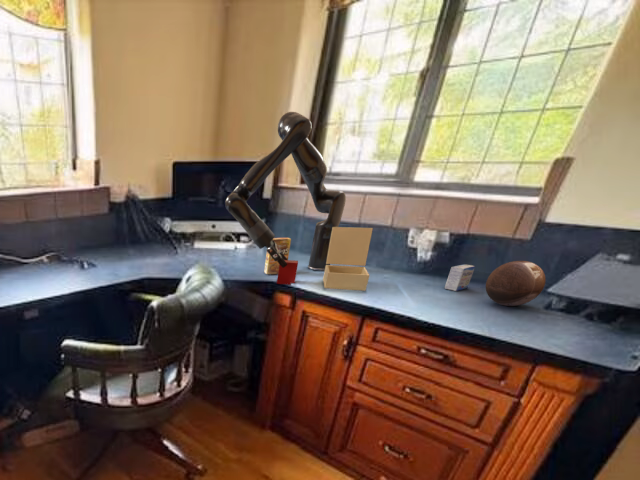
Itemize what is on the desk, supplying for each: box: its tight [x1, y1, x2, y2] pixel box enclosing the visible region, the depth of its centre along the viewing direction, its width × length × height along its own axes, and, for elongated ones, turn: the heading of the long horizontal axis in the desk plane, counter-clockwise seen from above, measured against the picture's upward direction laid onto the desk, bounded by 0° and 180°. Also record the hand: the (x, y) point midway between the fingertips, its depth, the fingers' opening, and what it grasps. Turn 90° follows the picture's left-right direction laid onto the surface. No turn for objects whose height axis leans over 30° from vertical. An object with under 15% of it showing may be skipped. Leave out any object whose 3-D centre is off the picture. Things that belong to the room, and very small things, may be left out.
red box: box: [276, 259, 299, 286], centre depth 174 cm, size 4×7×9 cm, turn 71°
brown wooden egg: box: [485, 260, 547, 307], centre depth 143 cm, size 15×15×15 cm
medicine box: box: [444, 264, 476, 292], centre depth 162 cm, size 8×4×9 cm, turn 117°
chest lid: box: [326, 226, 374, 267], centre depth 172 cm, size 14×15×5 cm
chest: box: [322, 264, 370, 292], centre depth 168 cm, size 14×15×7 cm
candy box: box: [263, 237, 292, 275], centre depth 186 cm, size 9×4×15 cm, turn 92°
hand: (285, 263), depth 173 cm, fingers open, 8 cm apart
